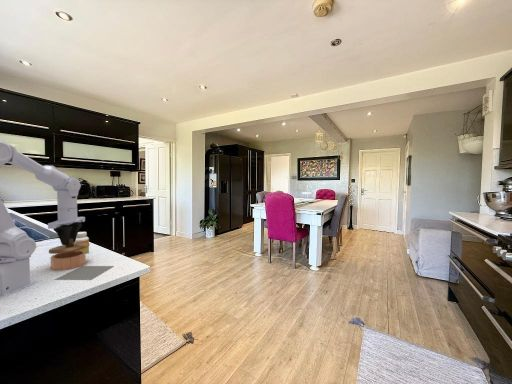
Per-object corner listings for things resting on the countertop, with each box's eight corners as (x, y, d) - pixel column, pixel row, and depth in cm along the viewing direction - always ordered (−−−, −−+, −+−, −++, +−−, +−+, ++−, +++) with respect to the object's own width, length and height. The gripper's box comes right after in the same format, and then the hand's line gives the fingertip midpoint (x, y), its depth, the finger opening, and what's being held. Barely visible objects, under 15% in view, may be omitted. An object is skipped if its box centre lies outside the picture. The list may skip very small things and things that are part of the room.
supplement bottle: (92, 253, 102) (91, 231, 102) (79, 256, 97) (79, 234, 97) (83, 251, 104) (82, 231, 103) (70, 255, 98) (70, 233, 98)
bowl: (71, 271, 81) (71, 259, 81) (43, 271, 81) (43, 258, 81) (91, 261, 91) (91, 250, 91) (66, 261, 91) (66, 250, 91)
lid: (71, 252, 80) (70, 242, 80) (39, 254, 80) (38, 244, 80) (96, 243, 92) (96, 234, 92) (68, 244, 92) (67, 235, 92)
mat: (91, 281, 73) (91, 279, 73) (54, 280, 73) (54, 279, 73) (114, 267, 85) (114, 266, 85) (82, 267, 85) (82, 265, 85)
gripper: (61, 210, 78) (62, 249, 79) (92, 206, 93) (92, 238, 93) (41, 210, 78) (42, 249, 79) (74, 206, 93) (75, 238, 93)
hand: (68, 243), depth 86 cm, fingers closed on lid, 2 cm apart
